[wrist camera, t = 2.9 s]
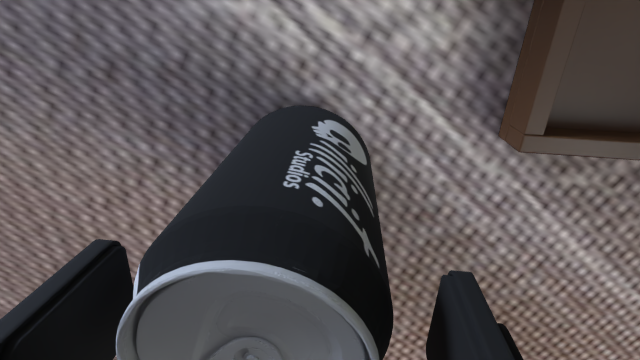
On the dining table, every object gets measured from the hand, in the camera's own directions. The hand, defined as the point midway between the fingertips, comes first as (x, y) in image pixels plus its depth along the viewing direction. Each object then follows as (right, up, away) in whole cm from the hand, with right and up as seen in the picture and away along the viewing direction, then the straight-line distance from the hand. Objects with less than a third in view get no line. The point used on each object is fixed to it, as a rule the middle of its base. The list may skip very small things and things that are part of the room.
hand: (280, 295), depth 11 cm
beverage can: (0, +4, +8) cm, 9 cm away
